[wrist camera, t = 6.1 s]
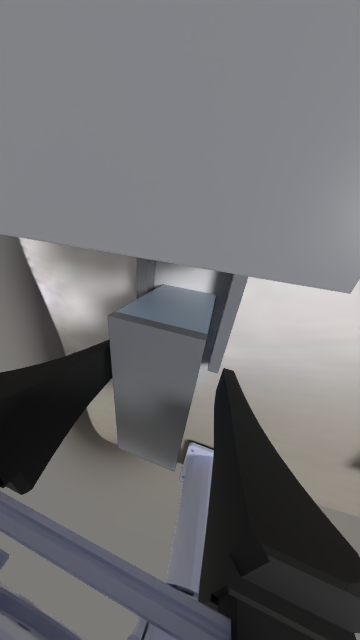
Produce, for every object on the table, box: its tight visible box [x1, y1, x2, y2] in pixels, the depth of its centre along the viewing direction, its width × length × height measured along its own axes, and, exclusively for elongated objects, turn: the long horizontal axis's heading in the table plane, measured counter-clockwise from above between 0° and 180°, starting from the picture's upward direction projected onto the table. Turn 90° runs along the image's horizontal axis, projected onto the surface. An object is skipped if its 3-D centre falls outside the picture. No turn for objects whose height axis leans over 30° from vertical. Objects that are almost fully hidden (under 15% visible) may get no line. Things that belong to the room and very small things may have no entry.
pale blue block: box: [108, 284, 216, 471], centre depth 11 cm, size 11×4×6 cm, turn 172°
